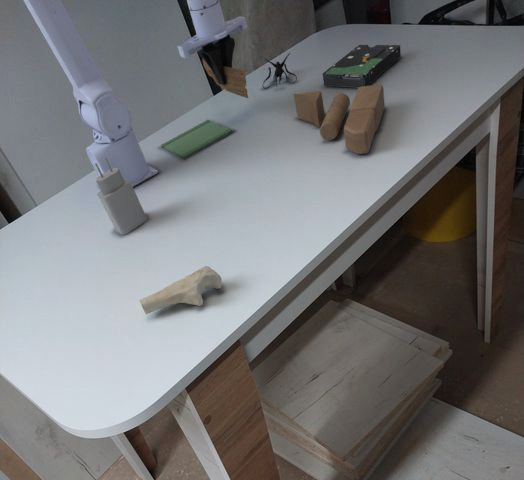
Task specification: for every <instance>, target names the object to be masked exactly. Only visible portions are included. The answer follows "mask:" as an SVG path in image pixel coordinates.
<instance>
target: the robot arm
mask: <svg viewBox="0 0 524 480" xmlns="http://www.w3.org/2000/svg"><path fill="white" fill-rule="evenodd" d="M186 2H187V6H188V9H189V14H190V16H191V19H192V20H191V21H192V25H193V27H194V31H195V35H194V36H192V37H191V38H189V39H187V40H186V41H184V42H183V43H181V44H180V45H177V50H178V53H179V57H180V58H182V59H185V60H186V59H188V58H190V57H191V56H192V55H193V54H195V53H197V54H198V55H199V56H200V57H201V58H202V59H204V60H205V62H206V63H207V64H208V66H209V67H210V69H211V70H212V72H213V73H214V75H215V77H216V79H217V81H218V83H219V84H222V85H225V84H226V78H225V74H224V71H223V67H222V66H225V67H230V68H233V57H234V50H235V46H236V41H235V38H233V37H231V36H232V35H234V34H236V33H238V32H240V31H245V30H246V29H248V24H247V19H246V17H245V16H241V15H240V16H237V17H235V18H233V19H230V20H227V21H225V17H224V13H223V9H222V6H221V2H220V0H186ZM23 3H24V4H25V6H26V7H27V10H28V11H29V12H30V15H31V17H32V18H33V20H34V21H35V23H36V25H37V27H38V29H39V31H40V32H41V34H42V35H43V37H44V39H45V41H46V42H47V44H48V46H49V49H51V51H52V53H53V55H54V57H55V58H56V60H57V61H58V64H59V65H60V67H61V69H62V70H63V72H64V74H65V75H66V77H67V79H68V81H69V82H70V84H71V86H72V95H73V97H74V99H75V101H76V103H77V106H78V113H79V116H80V119H81V120H82V122H83V123H84V124H85V125H86V126H87V127H89V128H91V129H92V136H93V140H94V141H93V142H92V143H91V144H90V145H88V146H87V147H86V148H85V151H86V154H87V157H88V159H89V161H90V163H91V165H92V167H93V169H94V171H95V173H96V175H97V177H99V176H100V173H99V171H98V169H97V167H96V165H95V163H97V165H98V167H99V169H100V171H101V173H102V174H103V173H105V172H107V171H108V170H110V169H109V167H108V165H107V162H106V160H105V157H106V158H107V161H108V163H109V164H110V166H111V169H113V168H119V170H120V172H121V174H122V177H123V178H124V179H127V180H129V181H130V182H131V184H132V186H133V188H134V187H135V186H138V185H139V184H141V183H142V182H144V181H146V180H148V179H149V178H151V177H153V176H155V175H157V174H158V173H159V172H158V170H157V169H156V168H154V167H153V166H150V165H149V164H148V163H147V162H148V161H147V160H146V158H145V155H144V152H143V150H142V149H141V146H140V143H139V141H138V139H137V137H136V134H135V132H134V129H133V127H132V114H131V111H130V109H129V107H128V106H127V105H126V104H125V103H124V102H123V101H121V100H120V99H119V98H118V97H117V96H116V94H115V92H114V89H112V87H111V86H110V85H109V84H108V82H107V81H106V80H105V79H104V78H103V76H101V73H100V72H99V70H98V68H97V66H96V64H95V62H94V61H93V58H92V56H91V54H90V53H89V51H88V49H87V47H86V45H85V43H84V42H83V41H84V40H82V37H81V36H80V34H79V32H78V30H77V28H76V26H75V24H74V23H73V21H72V18H71V17H70V15H69V13H68V11H67V9H66V8H65V6H64V4H63V1H62V0H23Z"/></svg>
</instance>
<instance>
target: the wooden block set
mask: <svg viewBox="0 0 524 480" xmlns="http://www.w3.org/2000/svg"><path fill="white" fill-rule="evenodd" d="M384 92H385V90H384V85H383V84H373V85H368V86H363V87H359V88H357V89H356V93H355V95H354V98H353V99H352V103H351V100H350V97H349V96H348V95H347V94H346V93H343V92H339V93H337V94H335V95H334V96H333V99H332V101H331V103H330V105H329V107H328V110H327V112H325V106H324V98H323V92H322V90H316V91H315V90H314V91H307V92H305V91H304V92H298V93H293V100H294V105H295V110H296V115H297V119H298V120H300V121H303V122H306V123H308V124H309V125H313V126H315V127H317V128H319V135H320V136H321V138H322V139H323V140H325V141H332V140H335V139H336V138H337V136H338V134H339V132H340V129H341V127H342V124H343V123H344V120H345V116H346V114H347V112H348V109H349V113H348V116H347V119H346V121H345V124H344V126H343V133H344V142H345V148H346V149H347V150H349V151H350V152H353V153H354V154H356V155H365V154H368V153H370V152H369V151H370V149H371V145H372V143H373V140H374V137H375V133H377V132H378V129H379V127H380V123H381V120H382V117H383V114H384V111H385V93H384ZM350 104H351V105H350ZM349 107H350V108H349ZM325 113H326V114H325Z"/></svg>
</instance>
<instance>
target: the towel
mask: <svg viewBox="0 0 524 480" xmlns="http://www.w3.org/2000/svg"><path fill="white" fill-rule="evenodd" d="M233 133H234V130H233V129H232V128H228V127H226V126H223V125H221V124H218V123H216V122H213V121H211V120H209V119H207V120H205V121H203V122H201V123H198V125H196V126H193V127H192V128H189V129H188V130H186V131H184V132H183V133H180V134H179V135H177V136H175V137H173V138H171V139H170V140H168V141H166V142H163V143H162V144H161V146H160V147H161V148H163V149H165V150H166V151H168V152H170V153H172V154H174V155H176V156H178V157H180V158H182V159H183V160H186V159H188V158H190V157H191V156H194V155H195V154H196V153H199V152H200V151H202V150H204V149H206V148H207V147H209V146H211V145H213V144H215V143H217V142H218V141H220V140H222V139H223V138H226V137H227V136H229V135H231V134H233Z"/></svg>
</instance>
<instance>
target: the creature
mask: <svg viewBox="0 0 524 480" xmlns="http://www.w3.org/2000/svg"><path fill="white" fill-rule="evenodd" d="M290 55H291V52H289V53H288V54H287V55H286V57H285V58H284V59H283V61H282V62H280V61H276V62H275V63H274V62H272V61H270V60H268V59H266V58H264V60H265V61H266V62H268V63H270V64H271V65H272V66H273V67H274V68H275V70H274V75H273V81H272V82H271V85H270V86H268V87H264V86H262V88H263V89H265V90H267V89H269V88H270V87H272V86H274V85H276V87H278V83H279V84H281V81H282V76H283V74H284V75H285V77H286V79H287V80H286V81H285V83H288V80H289V77H288V75H292V76H294V77H295V81H294V82H293V84H295V83H296V82H297V80H298V77H297V75H296V74H295V73H294V72H290V71H289V70H288V68H287V64H286V61H287V60H288V57H289V56H290ZM283 67H284V68H283ZM271 68H272V67H270V66H269V67H268V68H267V69H268V71H269V72H268V75H267V77H266V78H265V79H264V80H263V82H262V84H265V82H266V81H267V80H269V79H270V78H271V76H272V69H271ZM278 79H279V80H278ZM274 82H275V83H274ZM277 82H278V83H277ZM289 83H290V84H292V82H291V81H289Z"/></svg>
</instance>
